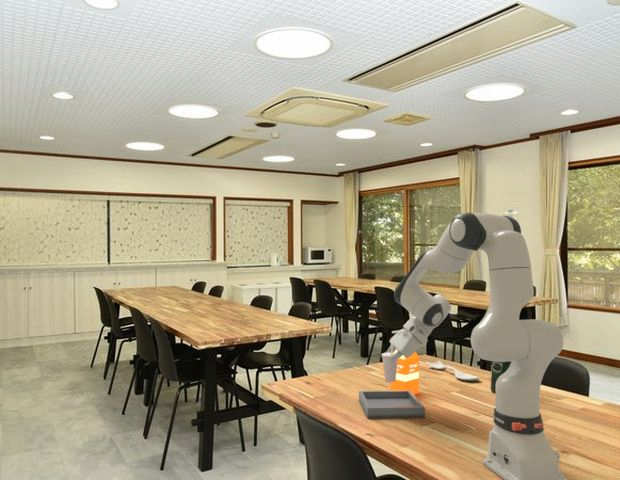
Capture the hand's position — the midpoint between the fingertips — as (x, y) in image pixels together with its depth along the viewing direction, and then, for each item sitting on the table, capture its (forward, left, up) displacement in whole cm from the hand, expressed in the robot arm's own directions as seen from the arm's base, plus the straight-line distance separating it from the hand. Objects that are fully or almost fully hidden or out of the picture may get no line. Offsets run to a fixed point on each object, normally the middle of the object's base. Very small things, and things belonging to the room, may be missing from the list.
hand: (388, 358), depth 179 cm
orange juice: (+19, -11, -18) cm, 28 cm away
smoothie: (0, -1, -8) cm, 8 cm away
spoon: (+47, -40, -19) cm, 64 cm away
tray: (0, -1, -18) cm, 18 cm away
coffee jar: (+17, -51, -18) cm, 56 cm away
